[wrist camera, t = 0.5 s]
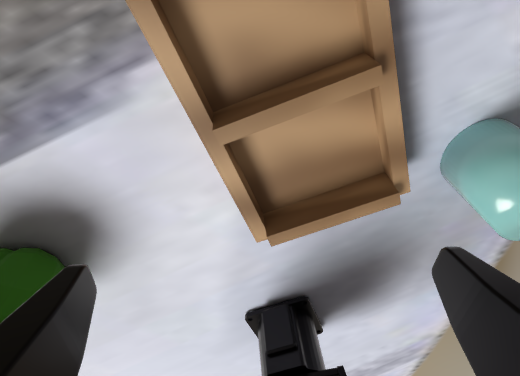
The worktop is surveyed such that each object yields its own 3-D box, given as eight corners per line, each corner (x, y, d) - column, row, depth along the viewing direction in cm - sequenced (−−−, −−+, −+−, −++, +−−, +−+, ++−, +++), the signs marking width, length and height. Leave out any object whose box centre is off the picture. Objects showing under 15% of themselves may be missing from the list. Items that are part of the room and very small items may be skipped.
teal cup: (514, 170, 25) (584, 223, 20) (441, 194, 26) (491, 251, 21) (522, 106, 22) (607, 151, 17) (438, 135, 23) (497, 186, 18)
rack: (395, 172, 24) (416, 198, 21) (254, 220, 25) (257, 251, 23) (347, -163, 14) (376, -189, 11) (114, -49, 15) (92, -49, 13)
